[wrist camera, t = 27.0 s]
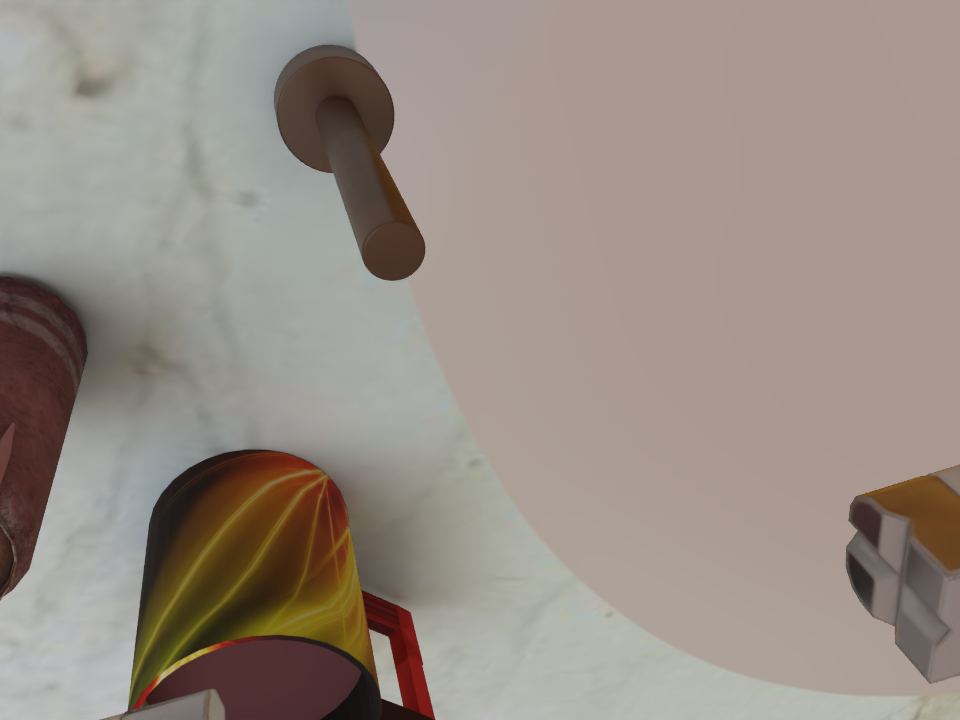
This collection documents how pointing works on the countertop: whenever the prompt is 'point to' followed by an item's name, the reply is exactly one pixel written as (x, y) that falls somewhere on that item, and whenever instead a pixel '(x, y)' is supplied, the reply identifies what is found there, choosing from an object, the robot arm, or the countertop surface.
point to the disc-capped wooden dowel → (350, 149)
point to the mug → (265, 599)
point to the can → (32, 412)
